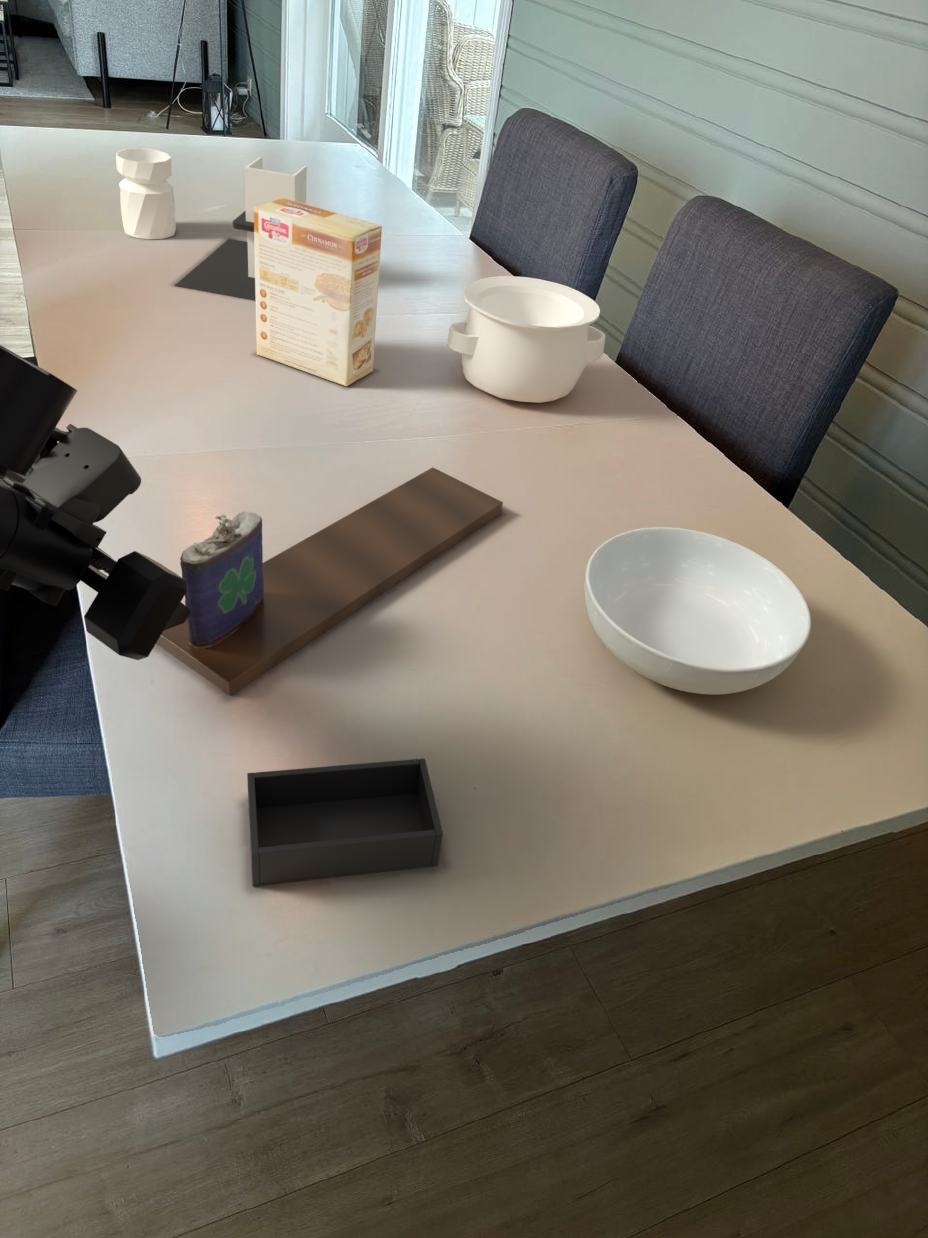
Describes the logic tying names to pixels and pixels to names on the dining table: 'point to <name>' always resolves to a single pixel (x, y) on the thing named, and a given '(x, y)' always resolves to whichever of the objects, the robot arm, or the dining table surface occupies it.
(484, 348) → the pot
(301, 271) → the coffeecake box
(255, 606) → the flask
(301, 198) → the black and white stand
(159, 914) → the dining table surface
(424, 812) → the open box
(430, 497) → the board
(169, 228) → the vase
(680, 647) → the serving bowl
